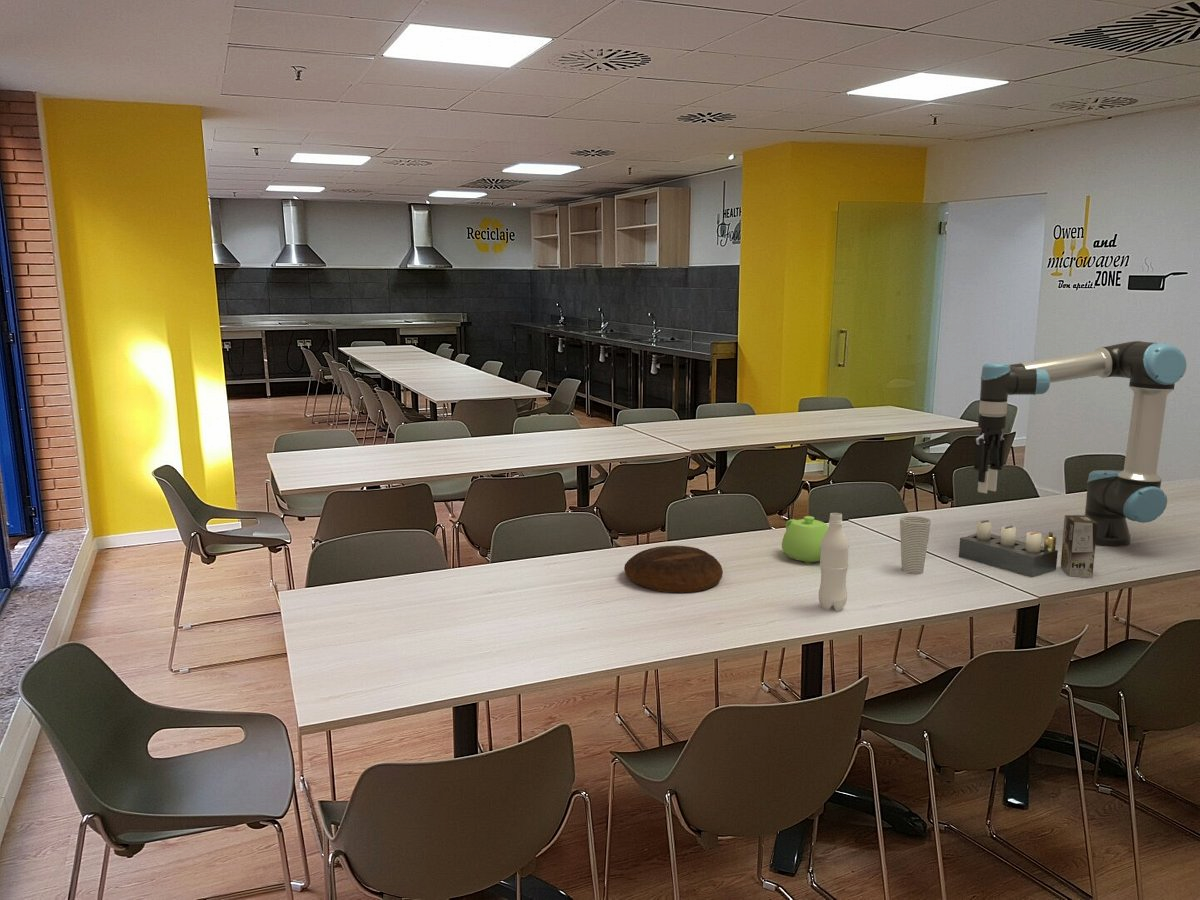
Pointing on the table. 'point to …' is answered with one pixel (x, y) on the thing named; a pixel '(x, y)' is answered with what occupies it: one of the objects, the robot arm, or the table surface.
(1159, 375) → the robot arm
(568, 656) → the table surface
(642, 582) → the bread
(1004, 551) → the mount
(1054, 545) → the pepper mill
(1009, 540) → the knob
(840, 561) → the water bottle
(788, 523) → the teapot
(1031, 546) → the knob
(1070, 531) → the coffee box
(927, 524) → the cup
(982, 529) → the knob
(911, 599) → the table surface
